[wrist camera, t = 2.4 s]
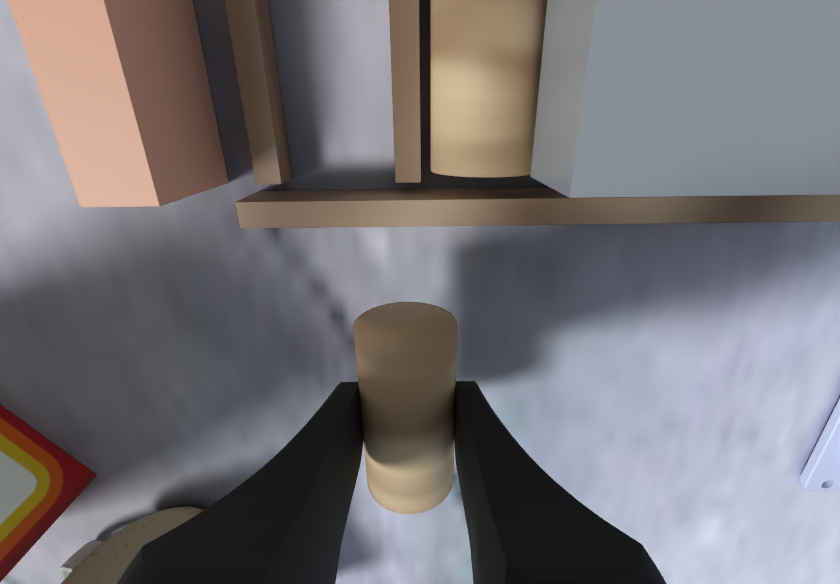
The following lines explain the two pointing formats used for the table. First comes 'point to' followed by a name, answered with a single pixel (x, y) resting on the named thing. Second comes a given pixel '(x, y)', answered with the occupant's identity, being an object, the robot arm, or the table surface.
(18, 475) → the baking soda box
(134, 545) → the ceramic mug
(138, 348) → the table surface
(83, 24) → the block
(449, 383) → the roller
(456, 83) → the roller track
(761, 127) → the slab
